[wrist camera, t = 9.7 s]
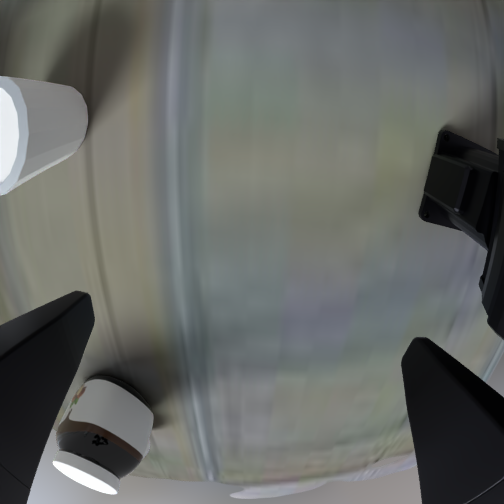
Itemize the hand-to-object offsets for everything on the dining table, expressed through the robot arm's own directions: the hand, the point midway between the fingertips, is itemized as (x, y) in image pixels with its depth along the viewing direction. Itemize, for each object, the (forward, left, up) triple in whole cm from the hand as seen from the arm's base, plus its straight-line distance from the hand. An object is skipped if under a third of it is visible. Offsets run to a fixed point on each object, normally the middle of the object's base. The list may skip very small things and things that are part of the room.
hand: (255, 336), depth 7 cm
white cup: (+15, -4, -13) cm, 20 cm away
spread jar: (+12, +26, -13) cm, 31 cm away
